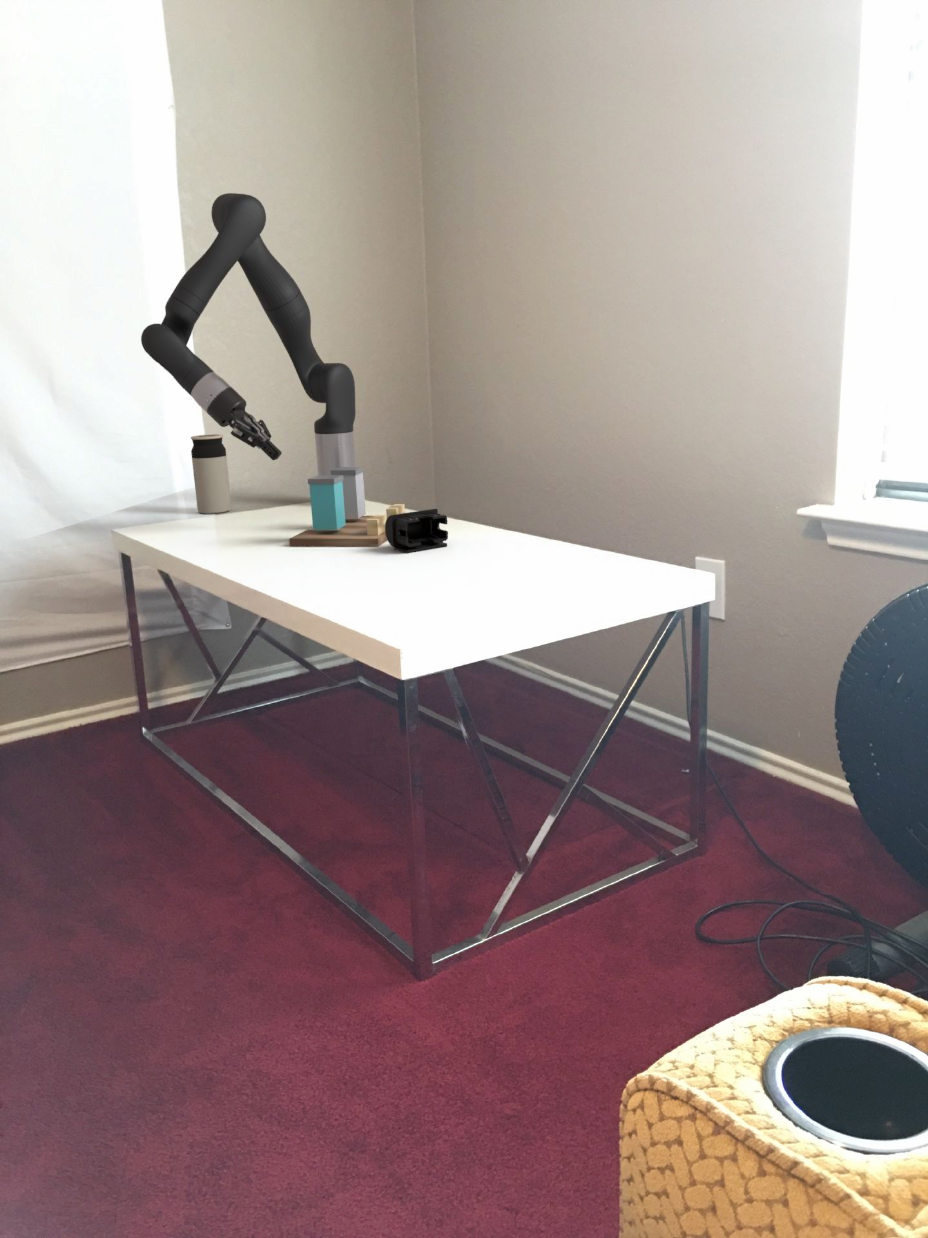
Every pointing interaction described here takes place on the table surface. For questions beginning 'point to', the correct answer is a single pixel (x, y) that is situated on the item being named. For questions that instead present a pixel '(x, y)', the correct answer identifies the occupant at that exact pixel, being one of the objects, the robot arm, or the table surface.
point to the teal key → (327, 502)
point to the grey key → (352, 490)
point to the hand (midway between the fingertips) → (278, 456)
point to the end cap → (416, 531)
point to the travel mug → (211, 474)
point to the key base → (350, 532)
